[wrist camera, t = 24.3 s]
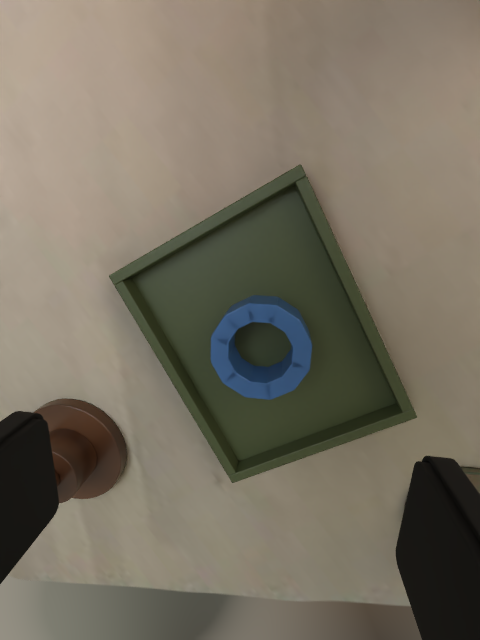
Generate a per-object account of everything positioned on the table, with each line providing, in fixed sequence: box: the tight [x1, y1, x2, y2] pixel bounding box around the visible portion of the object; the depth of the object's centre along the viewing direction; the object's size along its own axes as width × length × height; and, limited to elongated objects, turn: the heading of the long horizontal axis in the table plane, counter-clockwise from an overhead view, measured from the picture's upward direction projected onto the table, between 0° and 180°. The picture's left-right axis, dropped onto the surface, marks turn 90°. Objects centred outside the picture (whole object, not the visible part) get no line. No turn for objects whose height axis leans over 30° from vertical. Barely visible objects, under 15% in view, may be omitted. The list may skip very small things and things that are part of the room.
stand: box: [34, 399, 127, 503], centre depth 28 cm, size 10×10×9 cm
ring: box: [211, 295, 312, 400], centre depth 24 cm, size 7×7×3 cm
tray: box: [109, 165, 417, 483], centre depth 25 cm, size 20×16×2 cm
